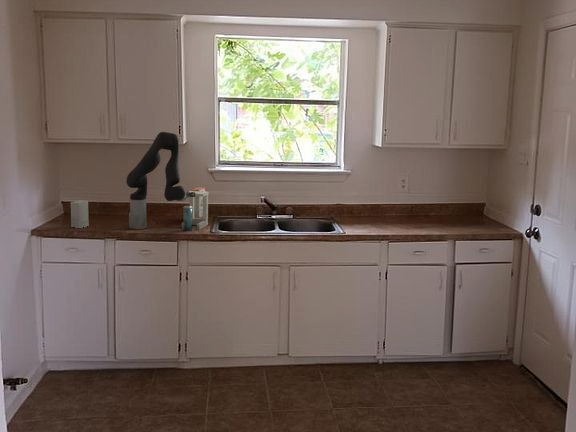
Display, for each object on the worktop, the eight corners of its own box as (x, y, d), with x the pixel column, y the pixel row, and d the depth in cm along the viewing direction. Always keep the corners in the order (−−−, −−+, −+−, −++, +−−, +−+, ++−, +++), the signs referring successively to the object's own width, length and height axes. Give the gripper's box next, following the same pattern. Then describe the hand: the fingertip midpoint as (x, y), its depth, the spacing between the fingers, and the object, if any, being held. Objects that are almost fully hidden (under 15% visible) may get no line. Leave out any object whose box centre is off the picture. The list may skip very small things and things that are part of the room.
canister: (188, 231, 342) (188, 207, 339) (181, 230, 344) (181, 206, 342) (194, 230, 346) (194, 206, 344) (187, 228, 349) (187, 205, 346)
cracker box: (199, 222, 370) (199, 189, 366) (190, 221, 371) (190, 189, 368) (206, 218, 384) (207, 187, 380) (198, 218, 385) (198, 186, 381)
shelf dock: (200, 229, 348) (200, 195, 345) (180, 228, 350) (180, 194, 347) (208, 224, 364) (208, 191, 360) (190, 223, 366) (190, 190, 362)
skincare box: (80, 225, 348) (80, 199, 346) (89, 226, 346) (88, 200, 343) (70, 227, 341) (69, 201, 338) (79, 229, 338) (78, 202, 336)
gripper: (192, 187, 318) (196, 188, 334) (166, 187, 318) (171, 188, 334) (192, 200, 318) (196, 201, 334) (166, 201, 318) (171, 201, 334)
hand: (183, 195), depth 334 cm, fingers open, 8 cm apart
